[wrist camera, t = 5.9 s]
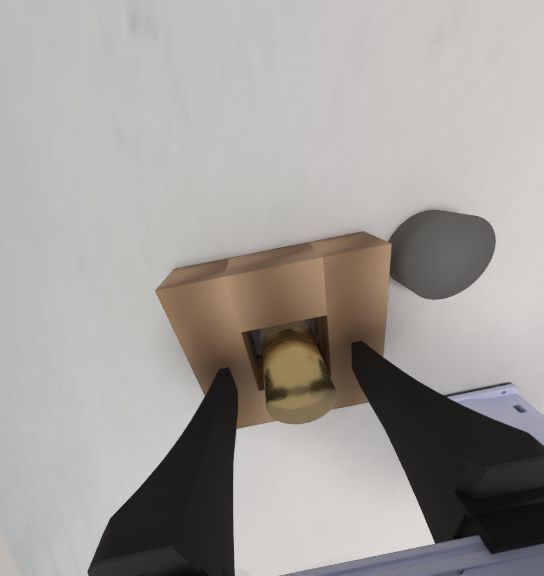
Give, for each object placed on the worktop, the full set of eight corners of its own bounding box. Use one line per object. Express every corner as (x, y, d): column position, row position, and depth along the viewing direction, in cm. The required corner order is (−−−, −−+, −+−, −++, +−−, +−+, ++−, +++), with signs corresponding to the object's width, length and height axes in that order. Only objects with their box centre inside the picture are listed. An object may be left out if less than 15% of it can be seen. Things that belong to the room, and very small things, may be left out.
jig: (363, 231, 13) (391, 243, 11) (361, 368, 19) (380, 399, 16) (174, 269, 13) (155, 290, 11) (225, 396, 19) (221, 431, 16)
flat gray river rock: (464, 202, 13) (507, 206, 11) (449, 274, 16) (482, 290, 13) (385, 218, 13) (412, 226, 11) (381, 289, 16) (403, 306, 13)
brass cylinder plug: (304, 303, 15) (334, 368, 10) (310, 342, 17) (339, 415, 12) (255, 314, 15) (258, 385, 10) (266, 352, 17) (273, 430, 12)
